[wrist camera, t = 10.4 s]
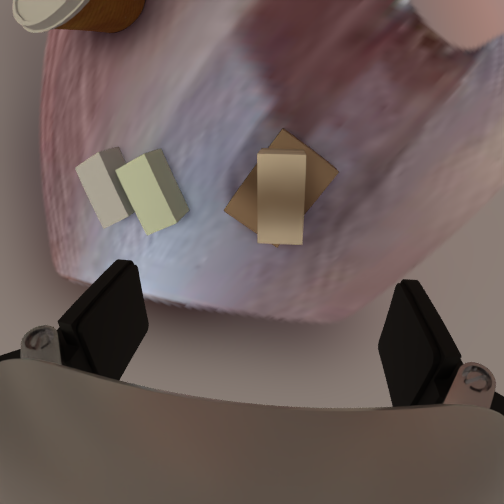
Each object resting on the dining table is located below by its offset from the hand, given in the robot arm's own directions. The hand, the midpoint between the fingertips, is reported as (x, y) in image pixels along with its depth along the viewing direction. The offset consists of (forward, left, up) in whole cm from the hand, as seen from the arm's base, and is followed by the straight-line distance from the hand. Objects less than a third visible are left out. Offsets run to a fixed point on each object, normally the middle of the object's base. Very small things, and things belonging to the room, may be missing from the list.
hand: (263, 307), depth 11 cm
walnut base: (0, 0, -21) cm, 21 cm away
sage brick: (+1, -12, -20) cm, 24 cm away
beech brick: (0, 0, -18) cm, 18 cm away
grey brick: (0, -17, -20) cm, 26 cm away
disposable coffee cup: (-20, -17, -20) cm, 33 cm away
